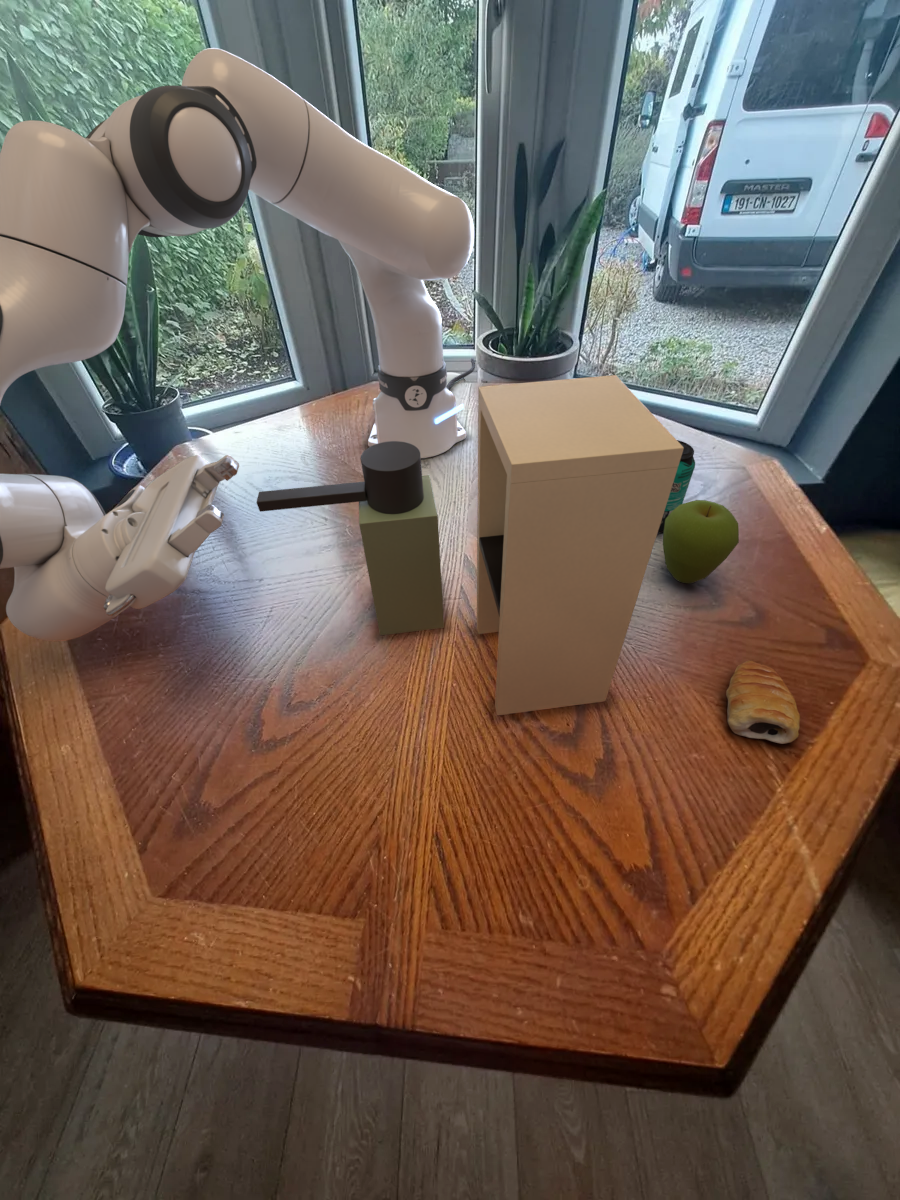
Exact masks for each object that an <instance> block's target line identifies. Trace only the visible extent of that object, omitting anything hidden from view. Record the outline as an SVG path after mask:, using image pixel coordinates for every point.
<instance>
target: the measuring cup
mask: <svg viewBox="0 0 900 1200" xmlns="http://www.w3.org/2000/svg"><path fill="white" fill-rule="evenodd" d="M360 465H361V471H362V477H363V481H364V482H363V481H355V482H344V483H334V484H324V485H315V486H314V485H313V486H304V487H303V486H302V487H295V488H293V487H292V488H284V489H283V488H282V489H273V490H263V491H259V492H258V494H257V499H256V505H257V507H258V512H261V513H262V512H270V511H279V510H280V511H282V510H290V509H291V510H292V509H302V508H310V507H319V506H320V507H321V506H330V505H331V506H332V505H339V504H340V505H341V504H350V503H359V502H361V501H368V504H369V506H370V507H371V508H372V509H374V510H375V511H377V512H380V513H385V514H400V513H405V512H408V511H411V510H413V509H415V508H416V507H418V506H419V505H420V504H421V503H422V501H423V498H424V493H423V481H422V476H423V469H422V458H421V455H420V451H419V449H418V448H417V447H416V446H414V445H412V444H410V443H406V442H400V441H389V442H382V443H378V444H375V445H373V446H371V447H369V446H368V447H367V448H366V449H364V451H363V452H362V453H361V454H360Z"/></svg>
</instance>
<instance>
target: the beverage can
mask: <svg viewBox="0 0 900 1200" xmlns="http://www.w3.org/2000/svg"><path fill="white" fill-rule="evenodd" d="M676 440H677V441H678V442H679V443H680V444H681V445H682V446H683V447H684V449H683V452H682V456H681V459H680V462H679V465H678V469H677V472H676V475H675V478H674V481H673V485H672V488H671V491H670V494H669V498H668V501H667V504H666V507H665V510H664V514H663V517H662V520H661V523H660V527H659V530H658V533H661V532H664V525H665V519H666V518H667V517H668V515H669V514H670V513H671V512H672V511H673V510H674V509H675V508H676V507H678V506H679V505H680V504H683V503H684V500H685V497H686V496H687V491H688V489H689V486H690V482H691V480H692V477H693V474H694V471H695V468H696V460H695V458H694V455H695V449H694V448H693V446H691V444H688V443H687V442H685V441H682V440H678V439H676Z"/></svg>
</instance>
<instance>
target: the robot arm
mask: <svg viewBox="0 0 900 1200" xmlns="http://www.w3.org/2000/svg"><path fill="white" fill-rule="evenodd" d="M249 191H250V192H252V193H253V194H255V195H256V196H258V197H260V198H261V199H263V200H264V201H267V202H268V203H269V204H271V205H273V206H274V207H276V208H279V209H280V210H282V211H283V212H285V213H287V214H289V215H291V216H292V217H293V218H295V219H296V220H297V219H298V220H299V221H301V222H303V223H304V224H306V225H308V226H310V227H312V228H313V229H315V230H317V231H318V232H320V233H322V234H324V235H326V236H328V237H330V238H333V239H335V240H338V242H339V244H340V246H341V247H342V249H343V250H344V252H345V253H346V254H347V256H349V259H350V261H351V262H352V265H353V267H354V268H355V271H356V273H357V276H358V278H359V281H360V284H361V287H362V289H363V293H364V295H365V299H366V300H367V304H368V307H369V310H370V313H371V317H372V321H373V322H372V323H373V328H374V335H375V343H376V348H377V356H378V364H379V365H378V366H377V382H378V387H379V390H380V392H379V394H378V396H376V397H375V398H373V399H372V410H373V412H374V423H373V426H372V428H371V432H370V434H369V436H368V440H367V445H368V448H369V447H371V446H373V445H375V444H378V443H382V442H389V441H400V442H406V443H410V444H412V445H414V446H416V447H417V448H418V449H419V451H420V455H421V459H428V458H431V457H436V456H438V455H441V454H444V453H445V452H447V451H449V450H450V449H451V448H453V446H454V445H456V443H459V442H461V441H463V440H465V439H466V438H467V431H466V429H465V428H464V427H463V425H461V423H460V422H459V421H458V417H457V416H458V415H457V413H459V412H461V411H462V410H463V409H465V408H464V403H461V404H460V405H458V406H457V400H456V395H454V394H453V392H452V391H451V390H450V389H451V387H452V385H453V384H455V383H456V382H457V381H458V382H459V381H460V380H462V379H463V378H465V377H468V376H469V375H471V374H472V373H473V372H474V371H475V369H476V360H475V358H474V357H471V359H470V363H471V367H470V368H469V369H468V370H467V371H465V372H463V373H460V374H459V375H457V376H455V377H453V378H452V379H450V381H447V380H448V371H447V365H446V362H445V360H444V345H443V340H444V339H443V320H442V315H441V312H440V308H438V306H437V305H436V303H435V301H433V299H432V297H431V296H430V294H429V292H428V290H427V287H426V285H425V282H424V281H439V280H449V279H452V278H454V277H456V276H457V275H459V274H460V273H461V272H462V271H463V269H465V267H466V266H467V264H468V261H469V260H470V257H471V255H472V252H473V248H474V242H475V226H474V220H473V217H472V213H471V211H470V208H469V207H468V205H467V203H466V202H465V201H463V199H461V198H460V197H459V196H457V195H455V194H453V193H451V192H449V191H448V190H445V189H443V188H442V187H439V186H437V185H436V184H433V183H432V182H430V181H428V180H427V179H426V178H424V177H422V176H421V175H419V174H417V172H415V171H413V170H412V169H410V168H407V166H405V165H403V164H401V163H399V162H398V161H396V160H395V159H392V158H391V157H389V156H387V155H385V154H383V153H381V152H380V151H378V150H376V149H374V148H372V147H370V146H369V145H367V144H365V143H364V142H362V141H361V140H359V139H357V138H356V137H354V136H353V135H352V134H350V133H349V132H347V131H346V130H345V129H343V128H342V127H341V126H339V125H338V124H337V123H336V122H334V121H333V120H332V119H330V118H329V117H328V116H326V114H324V113H323V112H321V111H320V110H318V109H317V107H315V106H313V105H312V104H311V103H310V102H309V101H307V100H306V99H305V98H303V97H302V96H301V95H299V94H298V93H297V92H295V91H294V90H292V89H291V88H290V87H289V86H287V85H286V84H285V83H283V82H281V81H280V80H279V79H277V78H276V77H274V76H273V75H272V74H269V73H268V72H266V71H265V70H263V69H261V68H260V67H258V66H256V65H255V64H253V63H251V62H249V61H247V60H245V59H243V58H241V57H240V56H238V55H236V54H233V53H231V52H229V51H227V50H224V49H222V48H217V47H208V48H205V49H202V50H200V51H199V52H197V53H196V55H194V57H193V58H192V59H191V61H190V62H189V63H188V65H187V67H186V69H185V71H184V73H183V77H182V80H181V85H170V84H169V85H161V86H158V87H157V86H156V87H154V88H151V89H150V90H148V91H146V92H145V93H143V94H141V95H138V96H135V97H132V98H130V99H128V100H126V101H125V102H122V103H121V104H120V105H118V106H117V107H116V108H115V109H114V110H113V111H112V113H111V114H110V116H108V118H107V119H104V120H102V121H101V122H99V123H98V124H97V125H96V126H95V127H94V128H93V129H92V130H91V131H90V132H89V133H88V135H86V136H85V137H84V136H82V135H81V134H78V133H77V132H75V131H73V130H72V129H69V128H67V127H65V126H62V125H60V124H57V123H55V122H54V123H53V122H49V121H44V120H36V119H35V120H34V119H32V120H31V119H30V120H23V121H19V122H17V123H15V124H14V125H12V126H11V127H10V128H9V129H8V131H7V132H6V135H5V137H4V140H3V143H2V147H1V150H0V405H1V403H2V400H3V397H4V395H5V394H6V391H7V390H8V388H9V387H10V386H11V385H12V384H13V383H14V382H15V381H16V380H17V379H19V378H21V377H22V376H23V375H25V374H27V373H30V372H32V371H35V370H38V369H42V368H46V367H51V366H57V365H64V364H71V363H76V362H81V361H84V360H88V359H91V358H93V357H96V356H98V355H99V354H101V353H103V352H105V350H107V349H109V348H110V347H111V346H112V345H113V344H114V343H115V342H116V340H117V338H118V336H119V333H120V330H121V329H122V325H123V321H124V316H125V311H126V301H127V290H128V289H127V288H128V287H127V286H128V278H129V260H130V259H129V257H130V253H131V251H132V247H133V244H134V242H135V239H136V238H137V236H143V237H149V238H166V237H186V236H193V235H196V234H198V233H200V232H203V231H205V230H208V229H215V228H219V227H222V226H223V225H225V224H227V223H228V222H229V221H231V220H232V219H233V218H234V217H235V216H236V215H237V214H238V213H239V211H240V210H241V208H242V207H243V206H244V203H245V201H246V199H247V197H248V194H249ZM239 468H240V463H239V462H238V461H237V460H236V459H234V457H233V456H232V455H230V454H226V455H224V456H223V457H221V458H220V459H219V460H217V461H214V462H209V461H208V460H207V459H205V457H203V456H202V455H200V454H194V455H191V456H189V457H188V456H187V458H184V459H183V460H181V461H180V462H178V463H177V464H175V465H173V466H172V467H170V468H169V469H167V470H166V471H164V472H162V473H161V474H160V475H158V476H157V477H155V478H154V479H153V480H152V481H150V482H149V483H148V484H147V485H146V486H143V485H141V484H138V485H135V486H134V487H133V488H131V490H130V491H128V493H126V495H125V496H123V498H122V499H121V500H120V501H119V502H118V504H117V505H116V506H115V507H114V508H113V509H112V510H110V511H109V512H107V513H106V512H105V509H104V508H103V506H102V504H101V503H100V502H99V499H97V497H96V496H95V495H94V493H93V492H92V491H91V490H90V488H89V487H87V486H86V485H85V484H83V483H82V482H80V481H79V480H77V479H75V478H73V477H70V476H65V475H53V474H39V473H37V474H36V473H35V474H34V473H17V474H16V473H0V569H1V570H2V569H11V568H13V569H14V570H13V571H14V579H13V580H14V581H13V588H12V590H11V594H10V596H9V597H8V599H7V602H6V605H5V612H6V616H7V618H8V621H10V623H11V624H12V625H13V626H14V628H16V629H17V630H18V631H20V632H21V633H23V634H25V635H27V636H29V637H32V638H34V639H37V640H41V641H45V642H57V643H58V642H66V641H72V640H75V639H77V638H80V637H83V636H85V635H87V634H89V633H91V632H93V631H96V629H99V628H101V627H102V626H103V625H105V624H107V623H109V622H110V621H111V620H113V619H115V618H116V617H117V616H119V615H120V614H121V613H122V612H124V611H126V610H127V609H128V608H130V607H131V608H132V609H134V610H141V609H145V608H146V607H149V606H151V605H153V604H155V603H156V602H159V601H160V600H162V599H164V598H166V597H167V596H169V595H171V594H173V593H174V592H175V591H176V590H178V589H179V588H180V587H181V586H182V584H183V583H184V582H185V580H186V579H187V577H188V575H189V571H190V569H191V566H192V563H193V560H194V557H195V553H196V551H197V550H198V549H199V548H200V547H201V546H202V545H203V543H204V542H205V541H206V540H207V538H208V537H209V536H210V535H211V534H213V532H215V531H217V529H219V528H221V526H222V524H223V521H224V517H225V514H224V513H223V512H222V510H219V509H218V507H217V506H216V505H213V501H214V498H215V495H216V492H217V489H218V487H219V485H220V482H222V481H226V482H228V481H230V480H231V479H232V478H233V477H234V476H236V475H237V474H238V472H239Z"/></svg>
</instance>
